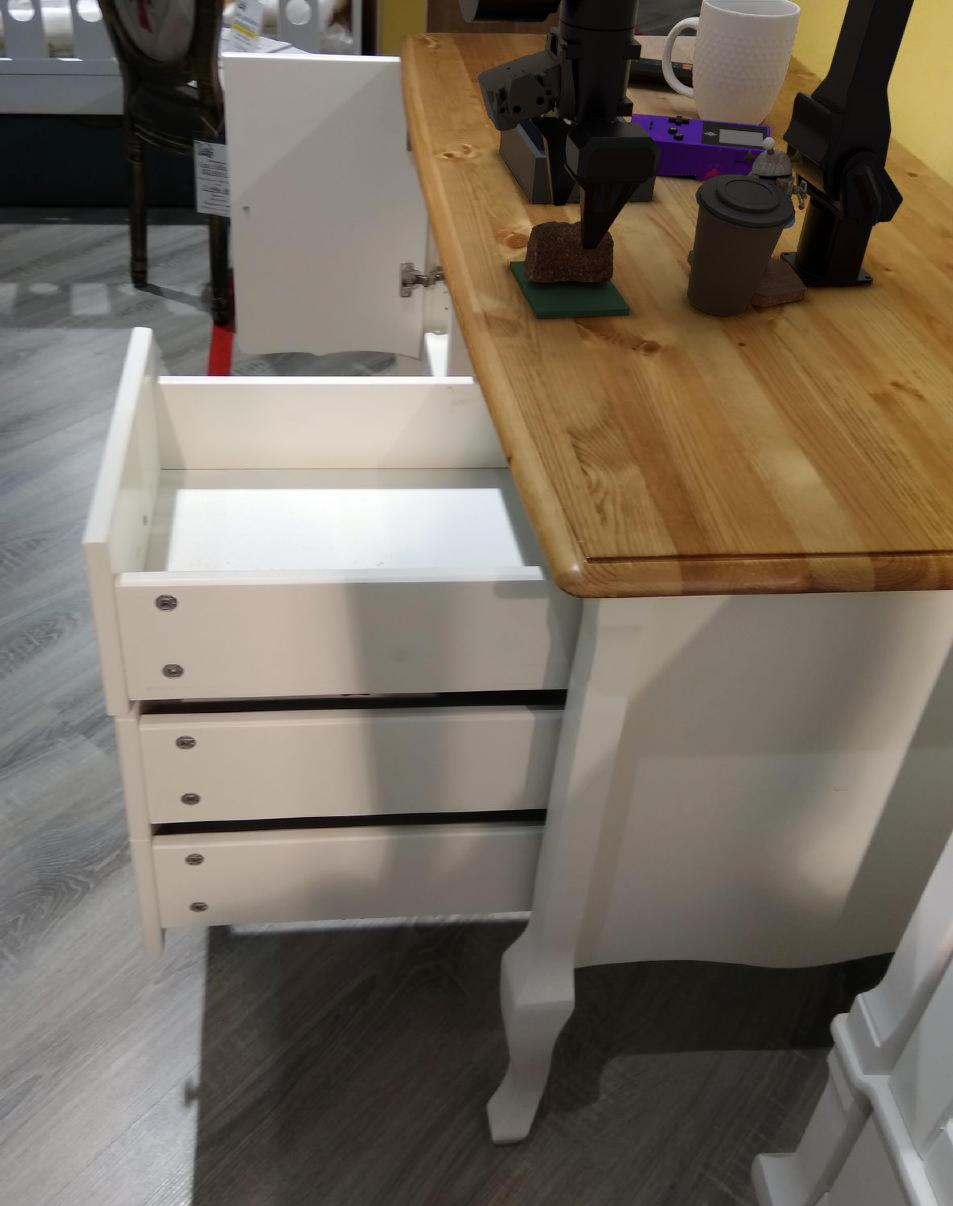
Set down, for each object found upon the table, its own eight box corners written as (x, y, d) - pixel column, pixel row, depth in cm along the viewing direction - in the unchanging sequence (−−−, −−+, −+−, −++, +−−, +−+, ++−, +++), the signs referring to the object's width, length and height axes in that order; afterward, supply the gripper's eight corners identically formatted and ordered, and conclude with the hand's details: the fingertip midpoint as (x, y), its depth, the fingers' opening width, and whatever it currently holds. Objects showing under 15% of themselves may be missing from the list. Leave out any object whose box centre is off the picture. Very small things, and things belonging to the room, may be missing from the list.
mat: (629, 315, 97) (630, 308, 97) (536, 318, 95) (537, 312, 95) (595, 265, 104) (596, 258, 104) (509, 267, 103) (509, 261, 103)
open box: (652, 201, 117) (659, 156, 115) (531, 203, 115) (535, 157, 112) (610, 151, 128) (615, 108, 125) (498, 152, 126) (502, 109, 123)
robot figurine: (816, 283, 105) (866, 148, 97) (796, 318, 98) (848, 176, 90) (700, 245, 107) (740, 111, 100) (672, 277, 100) (713, 135, 93)
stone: (608, 276, 101) (615, 220, 98) (616, 291, 99) (624, 234, 96) (521, 277, 100) (526, 220, 97) (527, 292, 98) (533, 234, 95)
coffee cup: (777, 292, 101) (812, 185, 94) (747, 337, 96) (782, 227, 89) (690, 261, 103) (718, 154, 96) (656, 304, 98) (684, 194, 91)
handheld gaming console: (633, 108, 128) (770, 121, 127) (627, 157, 132) (761, 170, 130) (626, 133, 121) (772, 148, 119) (620, 184, 124) (762, 198, 123)
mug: (638, 119, 138) (656, -2, 129) (670, 97, 145) (688, -19, 137) (760, 145, 133) (787, 21, 125) (786, 121, 141) (812, 2, 132)
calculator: (698, 71, 155) (702, 47, 153) (690, 96, 146) (694, 71, 144) (628, 63, 156) (631, 38, 154) (616, 86, 147) (619, 61, 145)
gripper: (466, -11, 92) (456, 186, 102) (521, 56, 78) (503, 277, 88) (601, -9, 94) (578, 184, 104) (678, 57, 80) (644, 273, 90)
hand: (573, 226), depth 96 cm, fingers open, 9 cm apart
